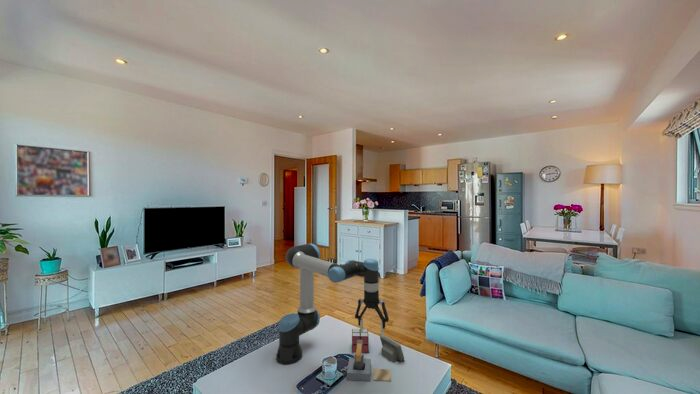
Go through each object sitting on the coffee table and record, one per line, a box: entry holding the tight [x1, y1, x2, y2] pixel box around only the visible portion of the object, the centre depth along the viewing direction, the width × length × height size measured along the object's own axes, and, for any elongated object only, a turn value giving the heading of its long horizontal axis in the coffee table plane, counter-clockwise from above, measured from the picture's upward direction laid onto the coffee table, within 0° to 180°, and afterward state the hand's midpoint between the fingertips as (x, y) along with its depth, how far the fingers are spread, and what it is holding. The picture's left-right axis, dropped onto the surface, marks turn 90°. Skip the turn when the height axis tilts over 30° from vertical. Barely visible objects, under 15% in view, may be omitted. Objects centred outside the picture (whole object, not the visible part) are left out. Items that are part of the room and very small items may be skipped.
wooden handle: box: [355, 340, 363, 361], centre depth 146 cm, size 4×15×3 cm, turn 174°
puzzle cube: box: [351, 328, 370, 354], centre depth 169 cm, size 10×10×10 cm
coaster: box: [372, 368, 392, 382], centre depth 143 cm, size 9×9×1 cm
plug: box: [354, 353, 365, 370], centre depth 146 cm, size 5×5×10 cm
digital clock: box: [379, 334, 405, 363], centre depth 160 cm, size 16×9×11 cm, turn 26°
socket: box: [346, 352, 372, 382], centre depth 146 cm, size 12×14×10 cm
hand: (371, 333), depth 140 cm, fingers open, 10 cm apart
